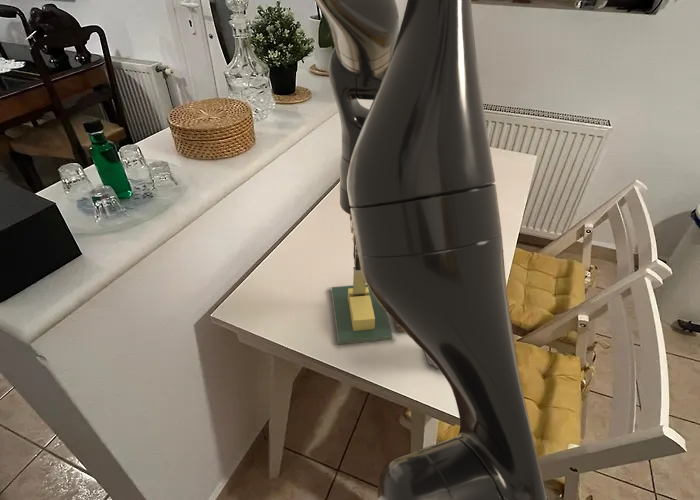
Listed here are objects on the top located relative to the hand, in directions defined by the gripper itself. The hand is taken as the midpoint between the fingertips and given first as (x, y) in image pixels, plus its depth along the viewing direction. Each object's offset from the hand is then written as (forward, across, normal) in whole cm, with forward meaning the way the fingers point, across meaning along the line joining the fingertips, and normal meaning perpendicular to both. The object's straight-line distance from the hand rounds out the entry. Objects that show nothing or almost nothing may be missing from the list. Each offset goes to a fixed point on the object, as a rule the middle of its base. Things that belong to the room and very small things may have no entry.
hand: (360, 262), depth 78 cm
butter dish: (+12, +1, 0) cm, 12 cm away
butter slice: (+11, -1, 0) cm, 11 cm away
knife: (+9, 0, 0) cm, 9 cm away
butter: (+11, +3, 0) cm, 12 cm away
